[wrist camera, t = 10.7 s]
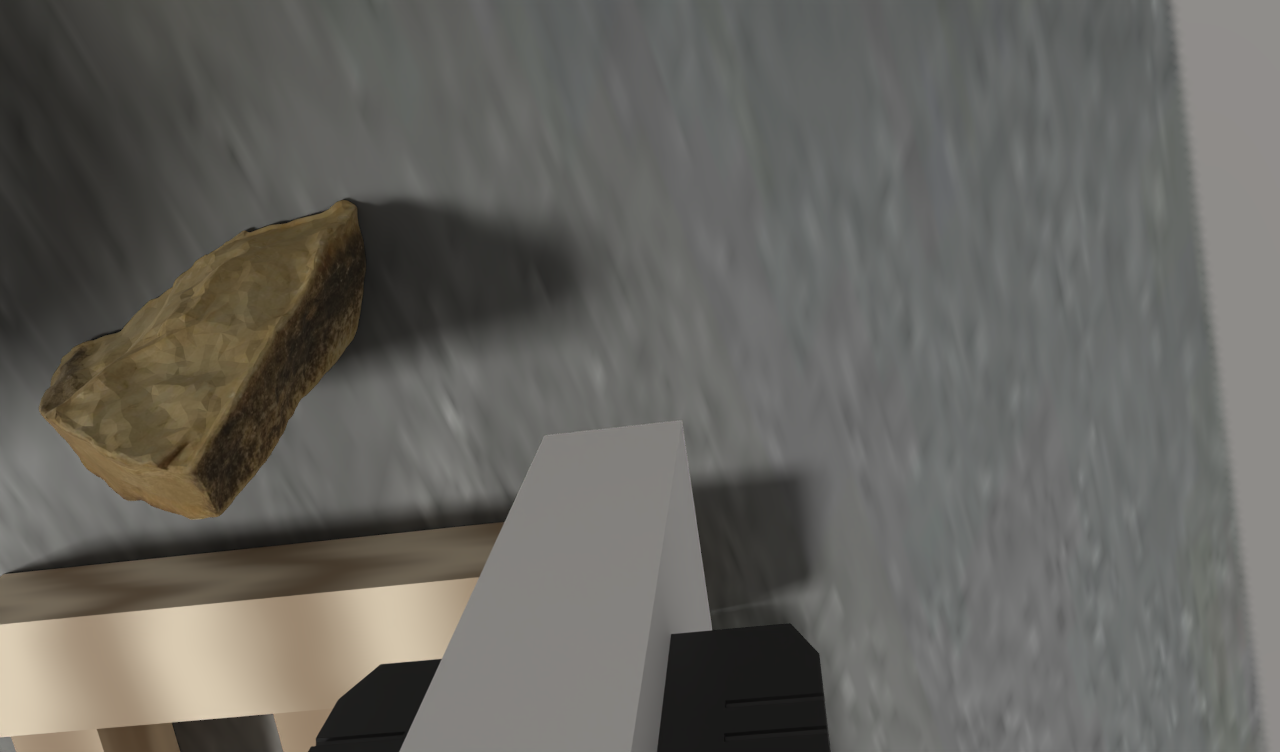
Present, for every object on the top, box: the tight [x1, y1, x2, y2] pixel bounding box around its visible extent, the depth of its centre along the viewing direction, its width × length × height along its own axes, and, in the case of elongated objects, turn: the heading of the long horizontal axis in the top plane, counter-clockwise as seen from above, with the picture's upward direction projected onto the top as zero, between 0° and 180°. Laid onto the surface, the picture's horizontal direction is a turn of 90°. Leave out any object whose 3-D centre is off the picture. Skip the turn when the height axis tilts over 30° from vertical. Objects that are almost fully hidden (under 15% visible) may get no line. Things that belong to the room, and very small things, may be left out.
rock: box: [39, 200, 366, 520], centre depth 36 cm, size 11×9×10 cm
